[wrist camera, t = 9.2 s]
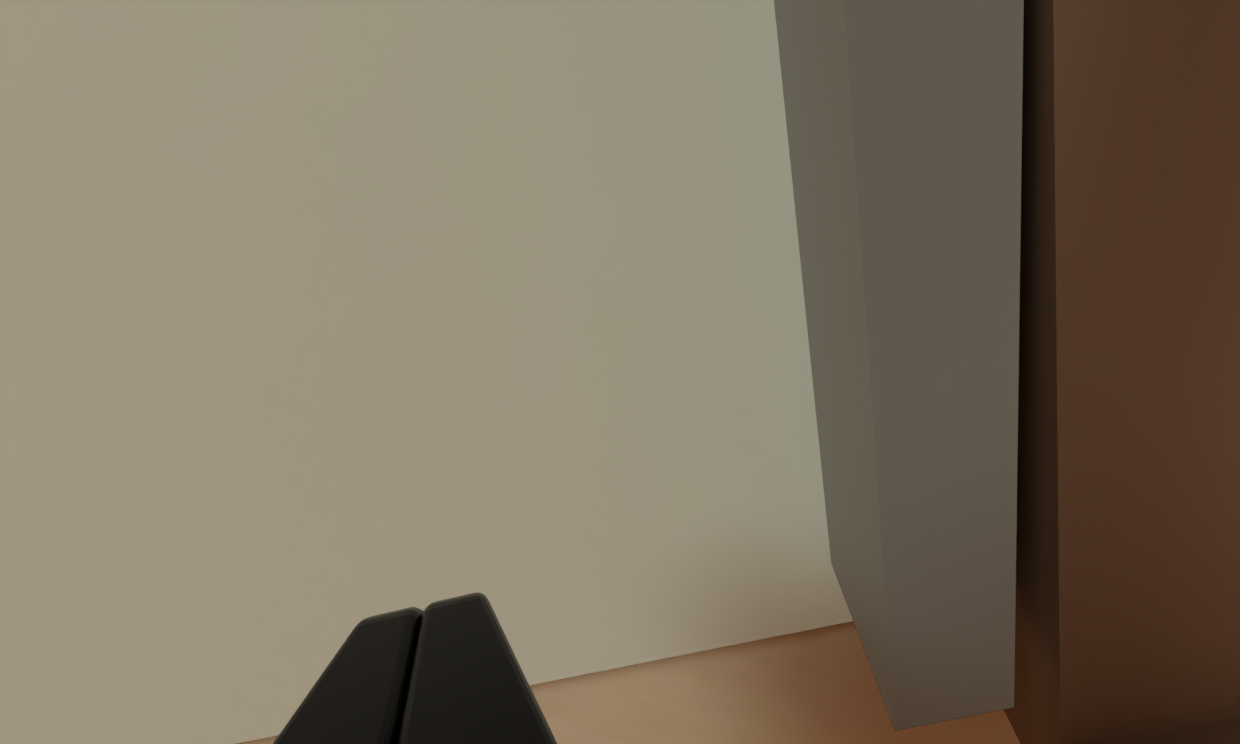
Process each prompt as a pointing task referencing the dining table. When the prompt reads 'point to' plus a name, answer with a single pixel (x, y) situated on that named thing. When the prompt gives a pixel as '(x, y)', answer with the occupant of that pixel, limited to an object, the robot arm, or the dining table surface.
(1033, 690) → the walnut box
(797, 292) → the cover plate
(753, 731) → the dining table surface
